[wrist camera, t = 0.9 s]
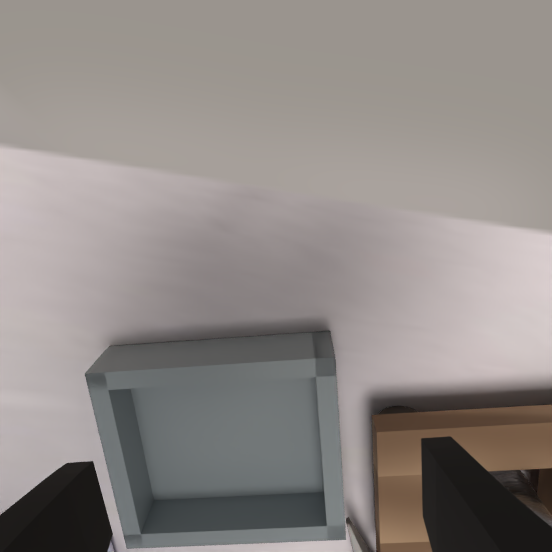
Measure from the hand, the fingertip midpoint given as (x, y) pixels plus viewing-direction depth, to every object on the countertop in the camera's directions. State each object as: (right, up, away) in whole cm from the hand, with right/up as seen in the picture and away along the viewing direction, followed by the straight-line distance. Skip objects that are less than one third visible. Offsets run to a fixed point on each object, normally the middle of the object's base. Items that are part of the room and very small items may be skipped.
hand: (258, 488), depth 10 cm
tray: (-2, -2, +12) cm, 12 cm away
